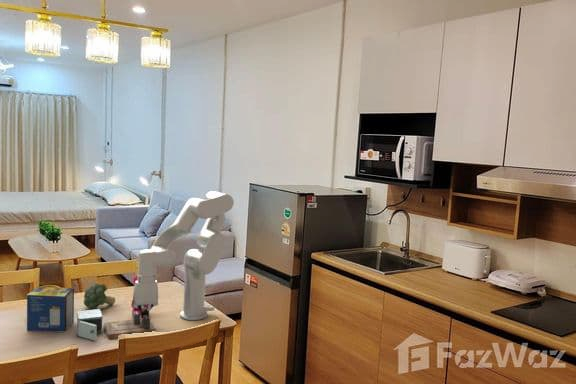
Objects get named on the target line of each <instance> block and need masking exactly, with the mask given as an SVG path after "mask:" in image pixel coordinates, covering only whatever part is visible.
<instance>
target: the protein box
mask: <svg viewBox="0 0 576 384" xmlns="http://www.w3.org/2000/svg"><path fill="white" fill-rule="evenodd" d="M74 307H75V288H73V287H60V288H51V287H41V286H38V287H36V288H34V289H33V290H32V291H30V292H29V293H27V294H26V331H28V332H52V333H53V332H54V333H55V332H56V333H57V332H58V333H64V332H66V331H67V330H68V329H69V328H70V327H71V325H72V324H73V323H74V322H75V320H74V319H75V311H74V310H75V308H74Z"/></svg>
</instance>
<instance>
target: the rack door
mask: <svg viewBox="0 0 576 384" xmlns="http://www.w3.org/2000/svg"><path fill="white" fill-rule="evenodd" d="M76 320H77V319H76ZM76 323H77V324H76V336H77V337H81V338H84V339H88V340H91V341H97V334H98V333H97V325H94V324H90V323H87V322H83V321H80V320H77V322H76Z"/></svg>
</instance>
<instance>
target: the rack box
mask: <svg viewBox="0 0 576 384" xmlns="http://www.w3.org/2000/svg"><path fill="white" fill-rule="evenodd" d="M76 316H77V317H76V320H80V321H83V322H87V323H90V324H94V325H97V334H100V333H103V315H102V311H101V308H97V309H96V308H95V309H87V310H77V314H76Z"/></svg>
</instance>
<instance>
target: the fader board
mask: <svg viewBox="0 0 576 384" xmlns="http://www.w3.org/2000/svg"><path fill="white" fill-rule="evenodd" d="M103 327H104V331H105V333H106V337H107V339H108V340H113V339H119V338H118V336H119V335H121V334H132V333H144V332H152V331H157V329H156V326H155V325H154V323H153V321H152V320H151V317H150V315H149V316H148V315H144V316H142V318H140V324H138V325H134V323H133V319H126V320H125V319H124V320H117V321H116V320H115V321H109V322H108V321H107V322H104V326H103Z"/></svg>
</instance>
